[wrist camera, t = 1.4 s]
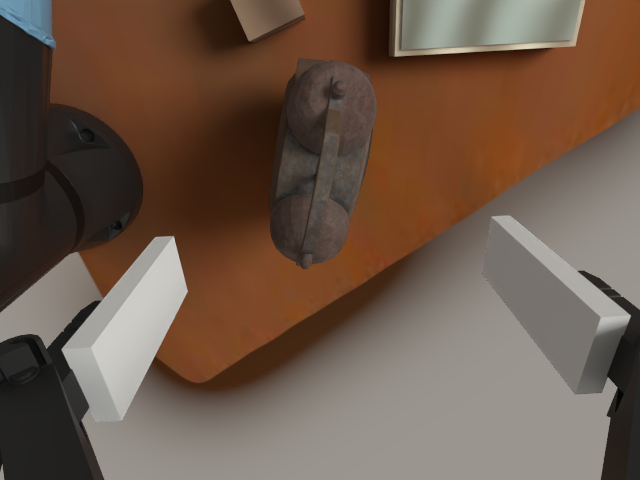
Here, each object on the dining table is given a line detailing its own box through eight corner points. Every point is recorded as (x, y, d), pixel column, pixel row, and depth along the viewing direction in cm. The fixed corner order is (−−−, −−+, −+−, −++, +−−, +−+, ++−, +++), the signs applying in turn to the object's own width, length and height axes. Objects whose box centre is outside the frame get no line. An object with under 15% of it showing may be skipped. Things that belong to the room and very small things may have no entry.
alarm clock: (338, 204, 43) (357, 312, 25) (275, 193, 43) (248, 297, 25) (370, 66, 37) (425, 80, 19) (296, 50, 36) (281, 49, 18)
